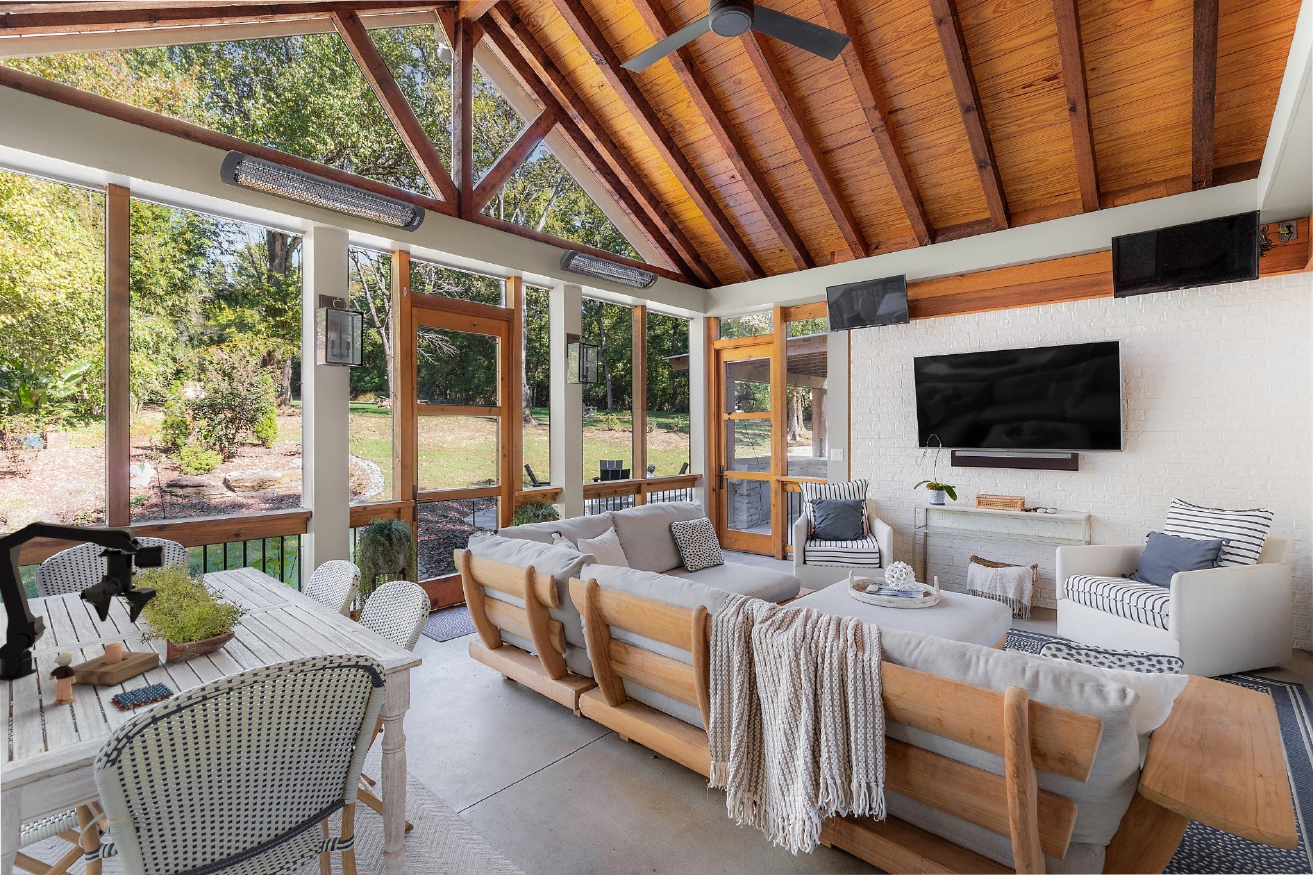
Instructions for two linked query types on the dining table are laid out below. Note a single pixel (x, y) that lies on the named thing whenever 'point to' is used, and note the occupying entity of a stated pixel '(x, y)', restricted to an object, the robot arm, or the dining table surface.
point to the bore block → (114, 669)
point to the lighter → (178, 654)
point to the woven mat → (141, 696)
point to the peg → (113, 653)
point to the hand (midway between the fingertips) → (118, 622)
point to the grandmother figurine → (63, 678)
